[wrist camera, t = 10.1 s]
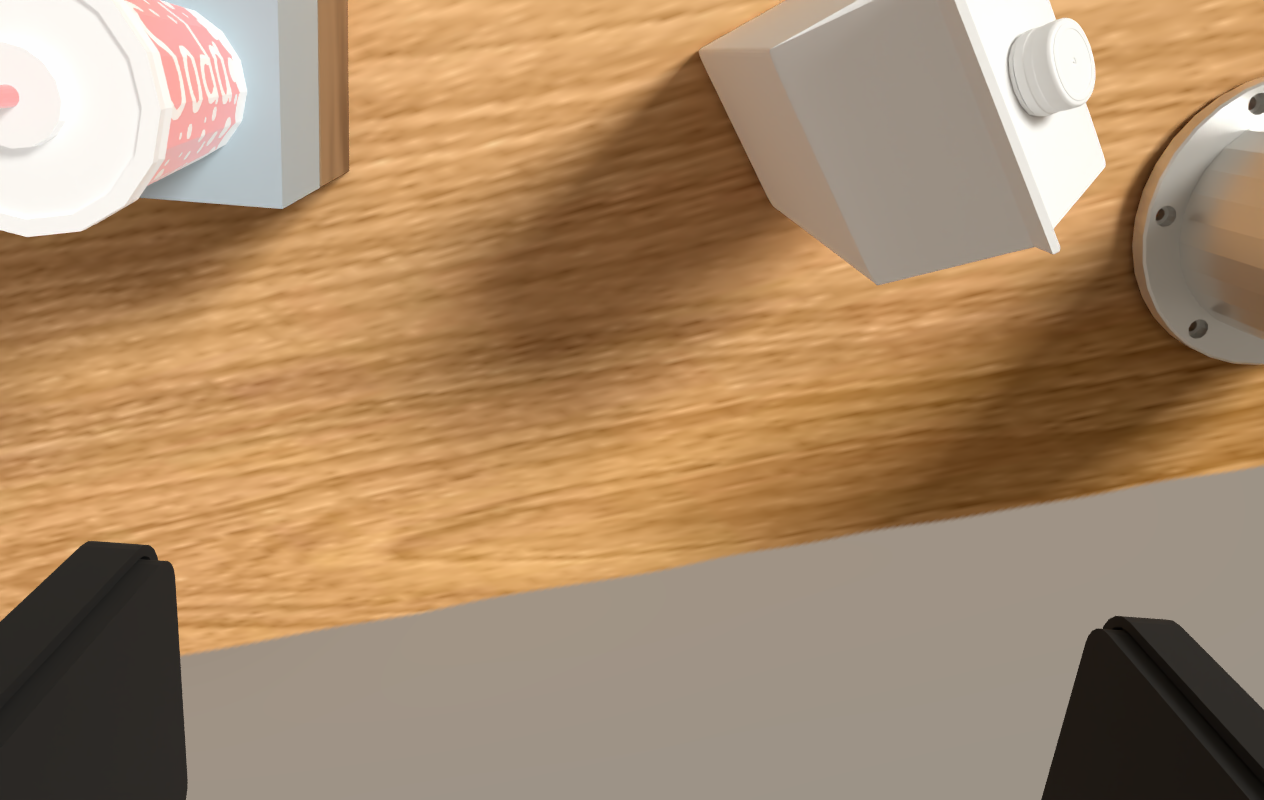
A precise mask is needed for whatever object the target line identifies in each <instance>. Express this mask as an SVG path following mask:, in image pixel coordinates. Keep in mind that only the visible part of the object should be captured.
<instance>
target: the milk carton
mask: <svg viewBox="0 0 1264 800" xmlns="http://www.w3.org/2000/svg"><path fill="white" fill-rule="evenodd" d="M699 55H700V58H701V60H702V62H703V65H704V67H705V69H706V71H707V73H708V75H709V77H710V79H711V81H712V83H713V85H714V88H715V90H716V92H717V94H718V96H719V98H720V100H721V102H722V104H723V106H724V108H725V110H726V112H727V114H728V117H729V119H730V121H731V123H732V125H733V127H734V129H735V131H736V133H737V135H738V137H739V139H740V141H741V143H742V146H743V148H744V150H745V152H746V154H747V156H748V158H749V160H750V162H751V164H752V166H753V168H754V170H755V172H756V174H757V177H758V179H759V181H760V183H761V185H762V187H763V189H764V191H765V193H766V195H767V197H768V199H769V201H770V202H771V204H772V205H773V206H774V207H775V208H776V209H777V210H779V211H780V212H781V213H783V214H784V215H785V216H787V217H788V218H789V219H791V220H792V221H793V222H795V223H796V224H797V225H799V226H800V227H801V228H803V229H804V230H805V231H807V232H808V233H809V234H810V235H812V236H813V237H814V238H816V239H817V240H818V241H820V242H821V243H822V244H824V245H825V246H826V247H828V248H829V249H830V250H832V251H833V252H834V253H836V254H837V255H838V256H840V257H841V258H842V259H844V260H845V261H846V262H848V263H849V264H850V265H852V266H853V267H854V268H856V269H857V270H858V271H860V272H861V273H862V274H863V275H865V276H866V277H867V278H869V279H870V280H871V281H873V282H874V283H875V284H876V285H881V284H885V283H889V282H894V281H898V280H902V279H906V278H910V277H914V276H918V275H922V274H926V273H930V272H934V271H938V270H942V269H946V268H950V267H955V266H959V265H963V264H967V263H971V262H975V261H979V260H983V259H987V258H991V257H995V256H999V255H1003V254H1007V253H1011V252H1016V251H1020V250H1024V249H1028V248H1032V247H1037V248H1039V249H1041V250H1044V251H1046V252H1049V253H1051V254H1056V253H1057V252H1059V251H1060V245H1059V242H1058V240H1057V237H1056V234H1055V232H1054V227H1055V226H1056V225H1057V224H1058V223H1059V221H1060V220H1061V219H1062V218H1063V217H1064V216H1065V214H1066V213H1067V212H1068V211H1069V210H1070V208H1071V207H1072V206H1073V205H1074V204H1075V202H1076V201H1077V200H1078V199H1079V198H1080V196H1081V195H1082V194H1083V193H1084V192H1085V190H1086V189H1087V188H1088V187H1089V186H1090V185H1091V183H1092V182H1093V181H1094V180H1095V179H1096V177H1097V176H1098V175H1099V174H1100V173H1101V171H1102V170H1103V169H1104V168H1105V166H1106V165H1105V159H1104V155H1103V152H1102V149H1101V146H1100V143H1099V140H1098V137H1097V134H1096V131H1095V128H1094V125H1093V122H1092V119H1091V116H1090V113H1089V111H1088V108H1087V105H1086V102H1087V100H1088V99H1089V98H1090V96H1091V94H1092V92H1093V89H1094V85H1095V64H1094V58H1093V54H1092V50H1091V47H1090V44H1089V42H1088V39H1087V37H1086V35H1085V33H1084V31H1083V30H1082V28H1081V27H1080V25H1079V24H1078V23H1077V22H1076V21H1074V20H1072V19H1070V18H1061V19H1058V20H1056V18H1055V16H1054V13H1053V10H1052V7H1051V4H1050V2H1049V0H786V1H784V2H782V3H780V4H778V5H777V6H775V7H773V8H771V9H770V10H768V11H766V12H764V13H763V14H761V15H759V16H757V17H755V18H754V19H752V20H750V21H748V22H747V23H745V24H743V25H741V26H740V27H738V28H736V29H734V30H732V31H731V32H729V33H727V34H725V35H724V36H722V37H720V38H718V39H717V40H715V41H713V42H711V43H709V44H708V45H706V46H704V47H702V48H701V49H700V50H699Z"/></svg>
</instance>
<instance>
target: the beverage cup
mask: <svg viewBox="0 0 1264 800" xmlns="http://www.w3.org/2000/svg"><path fill="white" fill-rule="evenodd" d="M246 96H247V88H246V83H245V78H244V74H243V69H242V65H241V60H240V58H239V57H238V55H237V54H236V52H235V51H234V49H233V47H232V46H231V44H230V43H229V41H228V40H227V38H226V37H225V35H224V33H223V32H222V31H221V30H220V29H218V28H217V27H216V26H214V25H213V24H212V23H211V22H209V21H208V20H207V19H205V18H204V17H203V16H201V15H200V14H199V13H198V12H196V11H194V10H191V9H187V8H184V7H181V6H178V5H174V4H171V3H168V2H165V1H161V0H0V230H2V231H6V232H10V233H14V234H17V235H21V236H25V237H33V236H42V235H51V234H60V233H70V232H79V231H83V230H86V229H87V228H89V227H91V226H93V225H94V224H97V223H99V222H100V221H102V220H104V219H106V218H107V217H109V216H111V215H112V214H114V213H116V212H118V211H119V210H121V209H123V208H124V207H126V206H128V205H130V204H131V203H133V202H135V201H136V200H138V199H139V197H140V196H141V194H142V193H143V191H144V190H145V188H146V187H147V186H148V185H150V184H152V183H154V182H156V181H158V180H160V179H162V178H164V177H166V176H168V175H170V174H172V173H174V172H176V171H178V170H180V169H182V168H184V167H186V166H188V165H190V164H192V163H194V162H196V161H198V160H200V159H202V158H203V157H205V156H207V155H208V154H210V153H212V152H214V151H215V150H217V149H219V148H220V147H222V146H224V145H226V144H227V142H228V141H229V139H230V138H231V136H232V135H233V133H234V132H235V130H236V129H237V127H238V126H239V124H240V123H241V122H242V119H243V113H244V107H245V101H246Z"/></svg>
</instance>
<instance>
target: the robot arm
mask: <svg viewBox="0 0 1264 800" xmlns="http://www.w3.org/2000/svg"><path fill="white" fill-rule="evenodd" d="M1248 103H1249V105H1248ZM1158 210H1159V214H1158V216H1157V217H1156V214H1157V212H1158ZM1132 250H1133V262H1134V273H1135V276H1136V279H1137V282H1138V286H1139V289H1140V292H1141V296H1142V298H1143V299H1144V301H1145V303H1146V305H1147V306H1148V308H1149V310H1150V312H1151V314H1152V315H1153V317H1154V318H1155V319H1156V320H1157V321H1158V323H1159V324H1160V325H1161V326H1162V327H1163V328H1164V329H1165V330H1166V331H1167V332H1168V333H1169V334H1170V335H1171V336H1173V337H1174V338H1176V339H1177V340H1179V341H1180V342H1181V343H1183V344H1184V345H1186V346H1187V347H1189V348H1191V349H1193V350H1196V351H1198V352H1200V353H1202V354H1204V355H1206V356H1208V357H1211V358H1214V359H1218V360H1222V361H1226V362H1229V363H1233V364H1249V365H1263V364H1264V77H1260V78H1257V79H1254V80H1251V81H1248V82H1246V83H1244V84H1242V85H1240V86H1238V87H1236V88H1235V89H1233V90H1231V91H1229V92H1227V93H1225V94H1223V95H1221V96H1220V97H1218V98H1217V99H1216V100H1214V101H1213V102H1212V103H1211V104H1209V105H1208V106H1207V107H1205V108H1204V109H1203V110H1201V111H1200V112H1199V113H1197V114H1196V115H1195V116H1194V117H1193V118H1192V119H1191V120H1190V121H1189V122H1188V123H1187V124H1186V125H1185V126H1184V127H1183V129H1182V130H1181V131H1180V132H1179V133H1178V134H1177V135H1176V136H1175V137H1174V138H1173V139H1172V141H1171V142H1170V144H1169V145H1168V147H1167V148H1166V150H1165V151H1164V153H1163V154H1162V155H1161V157H1160V158H1159V160H1158V161H1157V163H1156V164H1155V166H1154V169H1153V171H1152V173H1151V175H1150V177H1149V179H1148V181H1147V183H1146V185H1145V187H1144V190H1143V192H1142V196H1141V199H1140V203H1139V206H1138V210H1137V213H1136V217H1135V223H1134V233H1133V243H1132ZM186 795H187V765H186V748H185V732H184V716H183V700H182V684H181V667H180V650H179V634H178V618H177V601H176V585H175V574H174V569H173V566H172V564H171V563H170V562H168V561H158V558H157V555H156V553H155V550H154V549H153V548H152V547H151V546H150V545H139V544H125V543H111V542H98V541H88V542H86V543H85V544H83V545H82V546H80V547H79V548H78V549H77V550H76V551H75V552H74V553H73V554H72V555H71V556H70V557H69V558H68V559H67V560H66V561H65V562H63V563H62V564H61V565H60V566H59V567H58V568H57V569H56V570H55V571H54V572H53V573H52V574H51V575H50V576H49V577H48V578H46V579H45V580H44V581H43V582H42V583H41V584H40V585H39V586H38V587H37V588H36V589H35V590H34V591H33V592H32V593H30V594H29V595H28V596H27V597H26V598H25V599H24V600H23V601H22V602H21V603H20V604H19V605H18V606H17V607H16V608H15V609H13V610H12V611H11V612H10V613H9V614H8V615H7V616H6V617H5V618H4V619H3V620H2V621H1V622H0V800H186ZM1041 800H1264V710H1263V709H1262V708H1261V707H1260V706H1259V705H1258V704H1257V703H1256V702H1255V701H1254V700H1253V699H1252V698H1251V697H1250V696H1249V695H1248V694H1247V693H1246V692H1245V691H1244V690H1243V689H1242V688H1241V687H1240V685H1239V684H1238V683H1236V681H1234V680H1233V679H1232V677H1231V676H1230V675H1228V674H1227V672H1225V670H1224V669H1223V668H1222V667H1221V666H1220V665H1219V664H1218V663H1217V662H1215V660H1214V659H1213V658H1212V657H1211V656H1210V655H1209V654H1208V653H1207V652H1206V651H1205V650H1204V649H1203V648H1202V647H1200V645H1199V644H1198V643H1197V642H1196V641H1195V640H1194V639H1193V638H1192V637H1191V636H1189V634H1188V633H1187V632H1186V631H1185V630H1184V629H1183V628H1182V627H1181V626H1180V625H1178V624H1177V623H1175V622H1174V621H1171V620H1163V619H1149V618H1136V617H1122V616H1115V617H1113V618H1111V619H1109V620H1108V621H1107V623H1106V624H1105V625H1104V627H1103V629H1095V630H1093V631H1092V632H1091V634H1090V635H1089V636H1088V638H1087V641H1086V644H1085V647H1084V650H1083V654H1082V658H1081V661H1080V665H1079V668H1078V672H1077V675H1076V679H1075V682H1074V686H1073V690H1072V693H1071V697H1070V700H1069V704H1068V707H1067V711H1066V714H1065V718H1064V722H1063V725H1062V728H1061V732H1060V736H1059V739H1058V743H1057V746H1056V750H1055V753H1054V757H1053V760H1052V764H1051V767H1050V771H1049V775H1048V778H1047V782H1046V785H1045V789H1044V792H1043V796H1042V799H1041Z"/></svg>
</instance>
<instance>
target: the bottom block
mask: <svg viewBox="0 0 1264 800" xmlns="http://www.w3.org/2000/svg"><path fill="white" fill-rule="evenodd" d="M317 8H318V94H319V180H320V186H323V185H325V184H327V183H329V182H330V181H332V180H334V179H336V178H337V177H339V176H341V175H343V174H345V173H346V172H348V171H349V97H348V0H317Z"/></svg>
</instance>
